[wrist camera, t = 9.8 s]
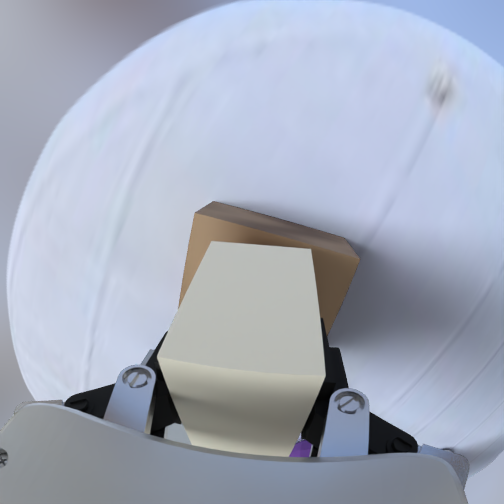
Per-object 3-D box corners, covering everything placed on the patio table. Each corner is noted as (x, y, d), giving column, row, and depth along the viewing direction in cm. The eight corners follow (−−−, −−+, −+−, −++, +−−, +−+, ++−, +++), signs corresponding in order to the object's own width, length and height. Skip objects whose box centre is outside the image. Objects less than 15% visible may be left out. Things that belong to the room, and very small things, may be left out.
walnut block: (343, 236, 16) (360, 259, 12) (301, 341, 19) (304, 380, 15) (214, 200, 16) (194, 212, 13) (192, 312, 19) (173, 346, 15)
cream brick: (211, 241, 11) (156, 356, 6) (310, 248, 11) (325, 375, 6) (218, 353, 15) (194, 449, 10) (290, 360, 14) (286, 461, 9)
